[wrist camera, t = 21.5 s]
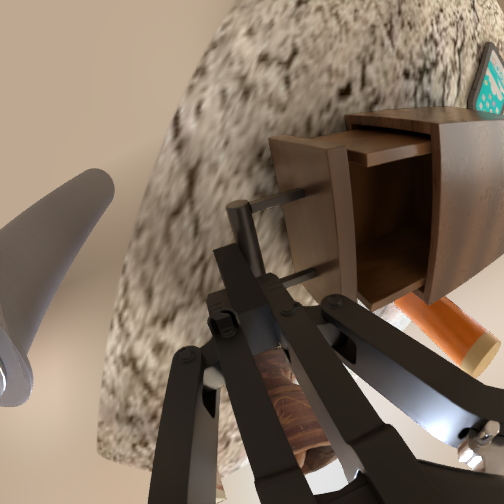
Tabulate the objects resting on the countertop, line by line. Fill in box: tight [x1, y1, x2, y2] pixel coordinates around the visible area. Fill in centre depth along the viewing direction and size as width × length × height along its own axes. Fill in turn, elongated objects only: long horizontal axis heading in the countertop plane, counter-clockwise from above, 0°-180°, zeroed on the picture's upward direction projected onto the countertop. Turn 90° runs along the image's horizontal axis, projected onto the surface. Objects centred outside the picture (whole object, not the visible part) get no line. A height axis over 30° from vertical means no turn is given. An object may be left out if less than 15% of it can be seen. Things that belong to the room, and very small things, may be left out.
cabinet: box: [345, 106, 504, 306], centre depth 22 cm, size 16×14×11 cm
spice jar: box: [394, 292, 501, 378], centre depth 27 cm, size 5×5×15 cm
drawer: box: [226, 127, 433, 312], centre depth 20 cm, size 19×12×9 cm, turn 103°
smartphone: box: [468, 42, 504, 115], centre depth 24 cm, size 9×1×15 cm
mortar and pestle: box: [253, 349, 338, 475], centre depth 24 cm, size 12×9×20 cm
